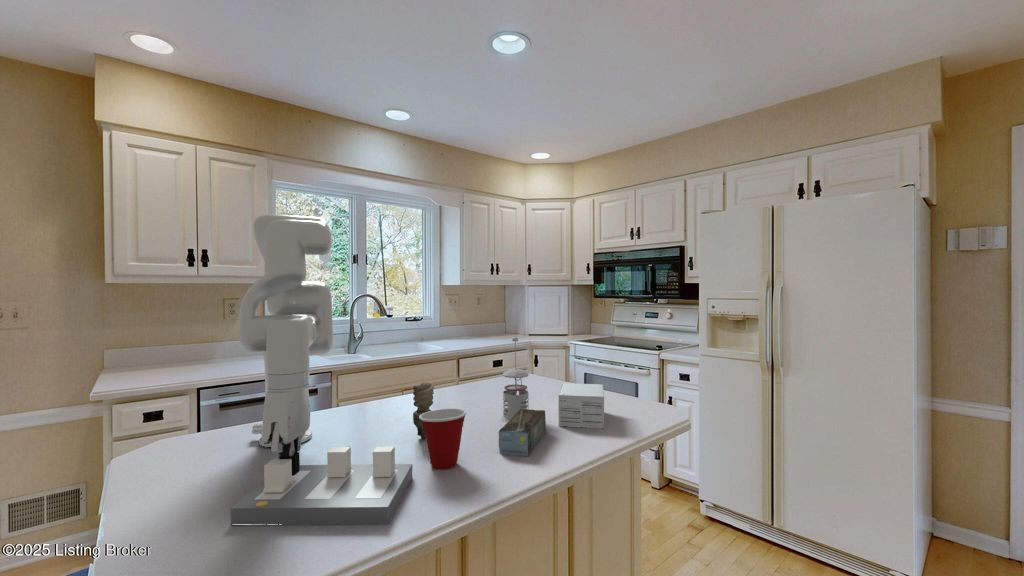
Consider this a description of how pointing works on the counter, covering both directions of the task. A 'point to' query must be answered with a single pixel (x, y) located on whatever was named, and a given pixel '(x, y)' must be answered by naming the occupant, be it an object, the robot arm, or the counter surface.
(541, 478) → the counter surface
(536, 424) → the beverage carton
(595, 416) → the supplement box
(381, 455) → the block
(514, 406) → the french press
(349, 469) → the block
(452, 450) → the plastic cup
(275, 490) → the breaker left
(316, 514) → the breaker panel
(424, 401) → the light bulb
